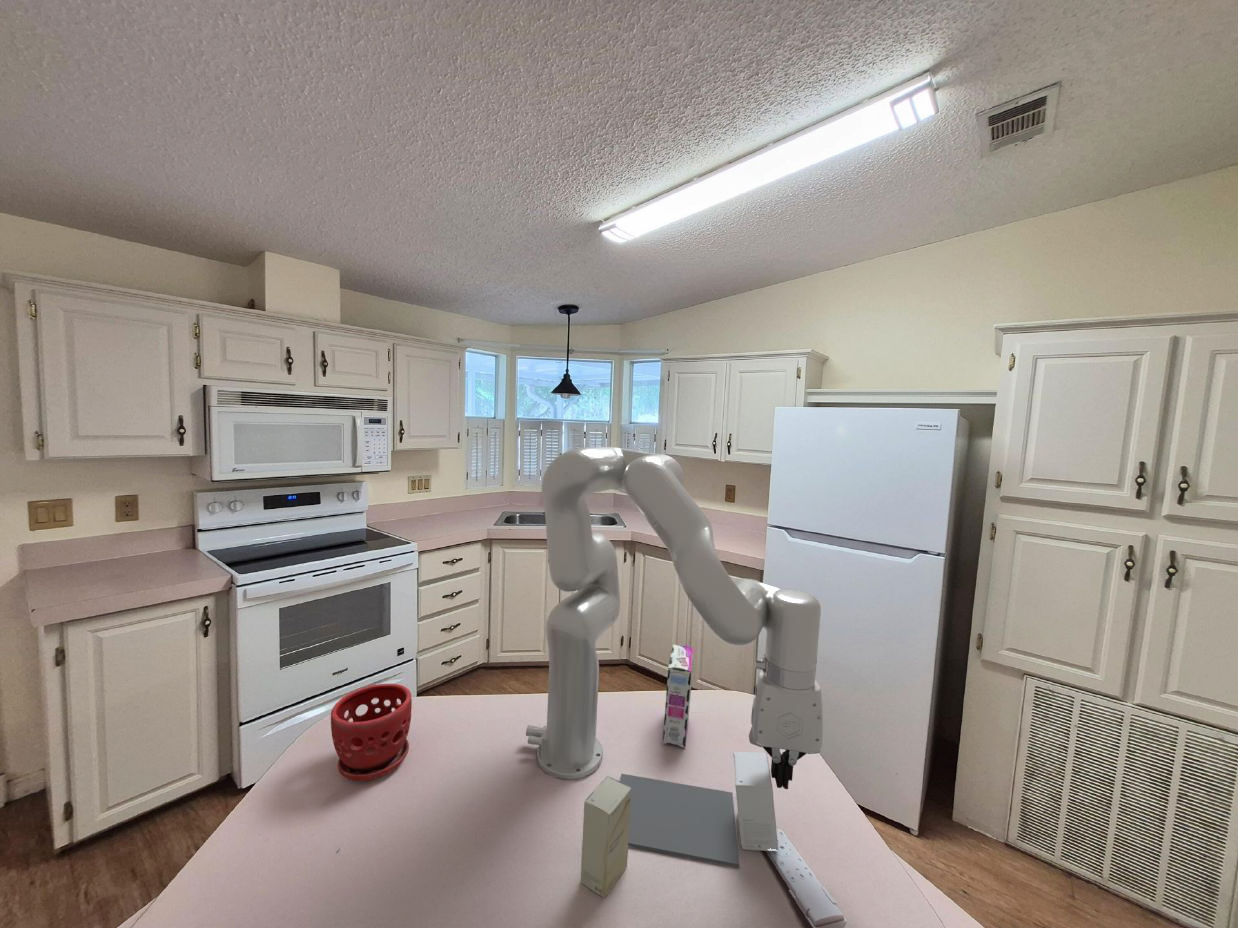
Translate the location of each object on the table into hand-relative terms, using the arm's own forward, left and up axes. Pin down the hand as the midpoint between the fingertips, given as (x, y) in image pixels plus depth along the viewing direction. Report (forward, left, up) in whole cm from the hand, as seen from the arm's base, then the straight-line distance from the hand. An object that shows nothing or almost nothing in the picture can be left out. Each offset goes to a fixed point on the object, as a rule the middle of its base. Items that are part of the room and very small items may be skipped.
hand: (780, 781), depth 75 cm
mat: (-16, 0, -9) cm, 19 cm away
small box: (-3, 0, -9) cm, 10 cm away
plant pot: (-72, 0, -10) cm, 72 cm away
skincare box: (-26, -12, -10) cm, 30 cm away
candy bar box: (-17, +23, -10) cm, 30 cm away
